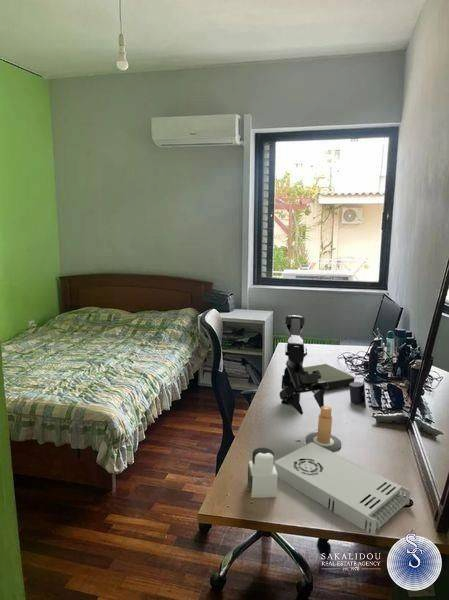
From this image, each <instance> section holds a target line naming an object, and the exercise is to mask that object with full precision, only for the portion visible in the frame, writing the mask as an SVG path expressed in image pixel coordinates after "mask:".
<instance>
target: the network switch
mask: <svg viewBox="0 0 449 600" xmlns="http://www.w3.org/2000/svg"><path fill="white" fill-rule="evenodd" d="M303 368H304V370H305V371H307V372H308V374H312V372H313V371H317V370H319V372H320V374H321V379H318V382H320V381H326V382H327V383H328V386H329V387H328V388H327V390H326V391H330V390H336V389H343V388H350V386H349V384H350V383H352V382H355V378H356V377H354V376H353V375H352V374H349V373H347V372H344V371H343V370H340V369H338V368H336V367H334V366H331V365H329V364H328V363H323V364H317V365H309V366H303ZM316 383H317V382H313V384H312V385H311V386H313V385H314V384H316Z"/></svg>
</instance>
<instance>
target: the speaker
mask: <svg viewBox="0 0 449 600" xmlns="http://www.w3.org/2000/svg"><path fill="white" fill-rule="evenodd" d="M349 386H350V387H349V398H350V399H349V400H350V403H351V404H352V405H364V409H365V408H366V407H367V404H366V403H367V401H366V400H367V399H366V387H365V380H364V379H363V381H362V382H361V381H354V382H352V383H350V384H349Z"/></svg>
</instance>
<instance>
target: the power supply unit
mask: <svg viewBox="0 0 449 600" xmlns="http://www.w3.org/2000/svg"><path fill="white" fill-rule="evenodd" d="M274 466H275V469H276V471H277V474H278V478H277V479H279V480H280V481H283V482H284V483H286V485H289V486H291V487H292V488H294V489H296V490H297V491H299V492H301V494H304V495H305V496H307V497H309V498H310V499H312V500H313V501H315V502H317V503H318V504H320V505H322V506H324V507H325V508H326V509H329V510H330V511H333V513H334V514H337V515H338V516H340V517H341V518H343V519H344V520H346V521H348V522H350V523H351V524H353V525H355V526H356V527H358V528H360V529H361V530H363V531H364V530H365V531H366V533H370V535H371V536H373V537H375V536H376V530H380V528H381V527H383V525H384V524H386V523H387V521H388V522H389V520H390V519H393V516H395V514H398V512H400V511H401V509H402V508H403V507H405V506H406V505H407V506H408V505H410V497H411V490H410V489H409V488H407V487H405V486H403V485H401V484H399V483H396V482H394V480H391V479H388V478H387V477H385V476H382V475H380V474H378V473H376V472H374V471H373V470H371V469H368V468H365V467H364V466H361V465H360V464H359V463H356V462H353V460H352V461H351V460H350V459H347V458H346V457H344V456H341V455H340V454H337V453H336V452H335V451H332V452H331V451H329V450H327V449H325V448H323V447H321V446H319V445H317V444H315V443H313V442H311V443H309V444H307V443H306V444H305V445H303V446H301V447H300V448H297V449H296V450H294V451H292V452H290V453H288V454H286V455H284V456H283V457H280V458H278V459H277V460H274ZM366 498H367V499H366ZM364 499H365V500H364ZM363 500H364V501H363Z"/></svg>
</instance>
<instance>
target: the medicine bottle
mask: <svg viewBox="0 0 449 600" xmlns="http://www.w3.org/2000/svg"><path fill="white" fill-rule="evenodd" d="M274 462H275V452H274V451H273V450H272V449H271V448H268V447H257V448H255V449H254V450H253V452H252V460H249V461H248V467H247V468H248V469H247V486H248V490H249V494H250V498H252V499H259V498H260V499H264V498H265V499H267V498H269V499H270V498H277V494H278V493H277V491H278V490H277V489H278V479H279V478H278V474H277V471H276V469H275V466H274Z"/></svg>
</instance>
